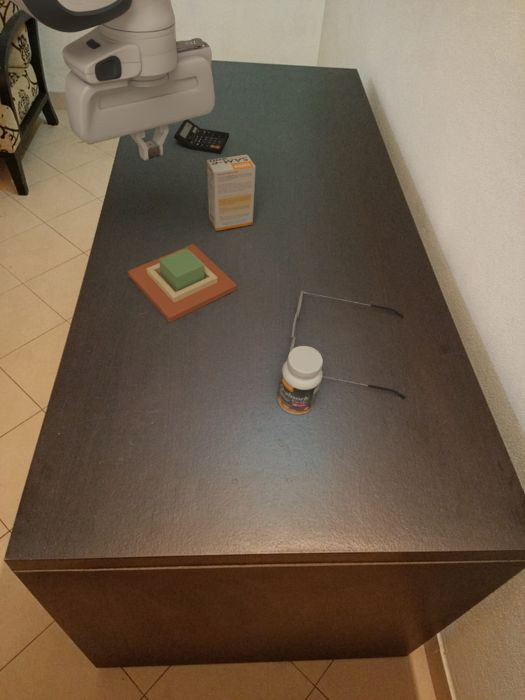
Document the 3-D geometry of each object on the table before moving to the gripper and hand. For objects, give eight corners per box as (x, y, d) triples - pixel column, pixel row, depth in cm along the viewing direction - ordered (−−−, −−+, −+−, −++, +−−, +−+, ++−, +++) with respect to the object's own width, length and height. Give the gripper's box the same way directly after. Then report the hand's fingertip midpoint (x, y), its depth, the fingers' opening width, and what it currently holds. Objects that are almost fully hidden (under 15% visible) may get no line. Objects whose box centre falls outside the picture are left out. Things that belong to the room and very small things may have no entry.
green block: (177, 293, 81) (176, 277, 78) (160, 275, 83) (158, 259, 81) (204, 280, 83) (204, 265, 80) (187, 263, 86) (186, 247, 83)
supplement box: (245, 212, 99) (248, 153, 89) (253, 225, 97) (256, 166, 86) (207, 218, 97) (206, 158, 87) (214, 232, 94) (214, 171, 84)
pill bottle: (271, 409, 69) (278, 368, 61) (283, 379, 72) (290, 337, 64) (309, 421, 68) (320, 381, 60) (318, 390, 71) (330, 349, 64)
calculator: (220, 154, 114) (220, 142, 112) (174, 146, 115) (173, 134, 112) (229, 136, 120) (229, 124, 118) (184, 129, 121) (184, 117, 118)
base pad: (169, 322, 78) (168, 312, 76) (128, 276, 84) (126, 265, 83) (237, 289, 84) (237, 279, 82) (193, 248, 91) (193, 238, 89)
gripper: (197, 28, 63) (199, 130, 74) (48, 51, 54) (75, 164, 65) (224, 43, 60) (223, 148, 71) (71, 71, 51) (96, 186, 62)
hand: (151, 156), depth 68 cm, fingers closed
